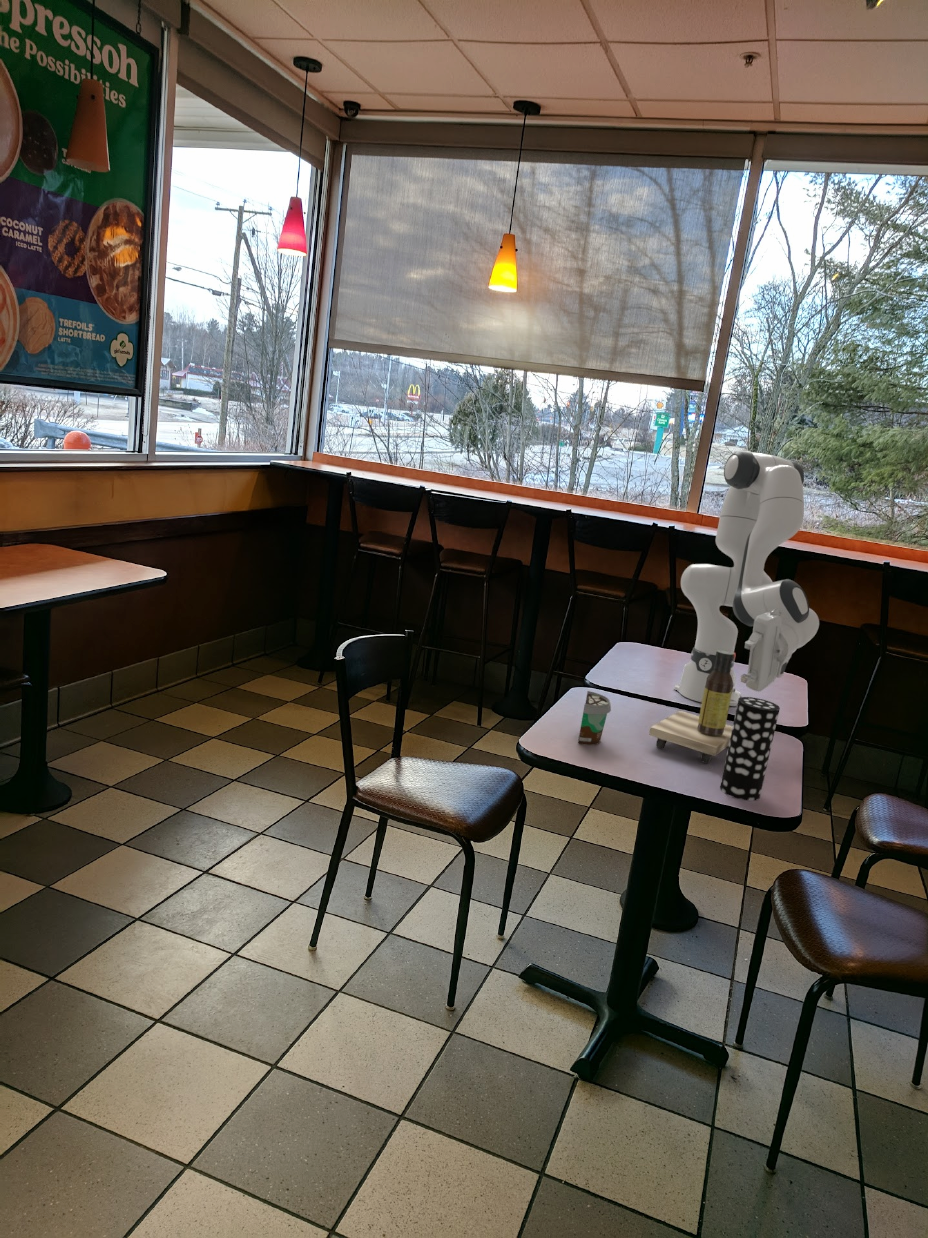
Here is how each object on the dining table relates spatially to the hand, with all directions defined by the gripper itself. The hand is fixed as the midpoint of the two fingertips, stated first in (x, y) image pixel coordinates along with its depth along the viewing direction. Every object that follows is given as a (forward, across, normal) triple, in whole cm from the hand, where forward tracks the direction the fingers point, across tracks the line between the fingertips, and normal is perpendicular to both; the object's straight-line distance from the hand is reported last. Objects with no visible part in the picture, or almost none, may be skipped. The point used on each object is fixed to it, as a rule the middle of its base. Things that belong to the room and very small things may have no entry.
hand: (745, 663), depth 209 cm
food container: (+36, +13, +17) cm, 42 cm away
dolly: (+16, +18, +2) cm, 24 cm away
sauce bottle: (+14, +13, -1) cm, 19 cm away
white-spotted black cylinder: (+30, +12, -18) cm, 37 cm away
